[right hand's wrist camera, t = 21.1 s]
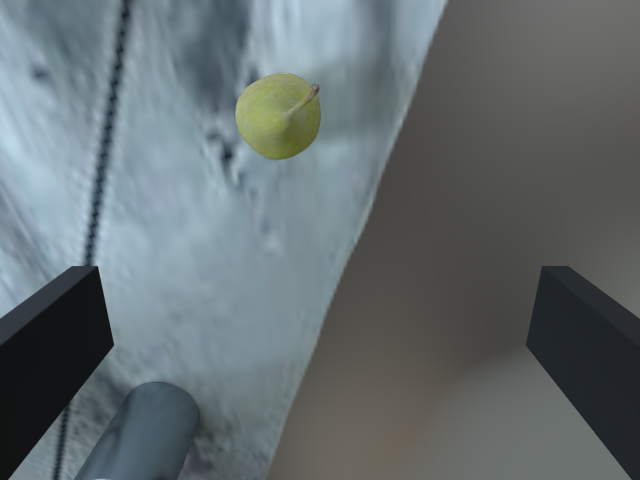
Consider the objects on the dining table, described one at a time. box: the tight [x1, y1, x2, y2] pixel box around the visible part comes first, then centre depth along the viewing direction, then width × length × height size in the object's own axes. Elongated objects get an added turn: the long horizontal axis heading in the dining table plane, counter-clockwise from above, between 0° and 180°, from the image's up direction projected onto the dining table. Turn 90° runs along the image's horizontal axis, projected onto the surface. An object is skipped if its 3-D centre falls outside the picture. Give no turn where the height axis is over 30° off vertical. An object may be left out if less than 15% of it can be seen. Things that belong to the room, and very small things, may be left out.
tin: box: [74, 382, 199, 480], centre depth 43 cm, size 9×9×13 cm
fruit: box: [236, 73, 321, 160], centre depth 32 cm, size 7×8×12 cm
